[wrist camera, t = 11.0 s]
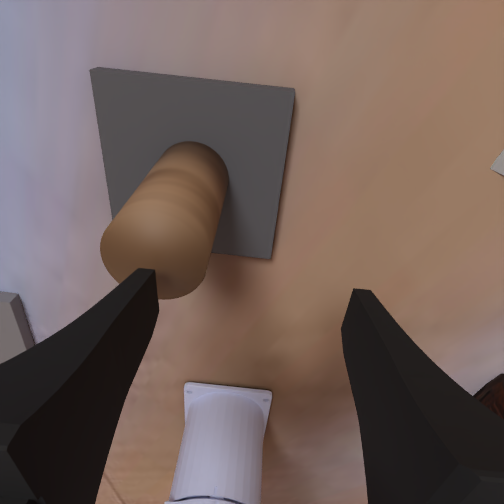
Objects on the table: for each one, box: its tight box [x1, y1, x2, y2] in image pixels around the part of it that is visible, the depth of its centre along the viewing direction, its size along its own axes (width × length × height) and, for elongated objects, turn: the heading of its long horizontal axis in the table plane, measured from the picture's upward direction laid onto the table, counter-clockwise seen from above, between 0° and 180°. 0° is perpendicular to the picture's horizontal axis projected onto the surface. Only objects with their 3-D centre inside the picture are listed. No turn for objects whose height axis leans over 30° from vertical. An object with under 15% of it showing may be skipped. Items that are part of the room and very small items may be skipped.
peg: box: [100, 141, 229, 299], centre depth 17 cm, size 4×4×8 cm
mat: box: [90, 67, 295, 259], centre depth 20 cm, size 10×10×1 cm
